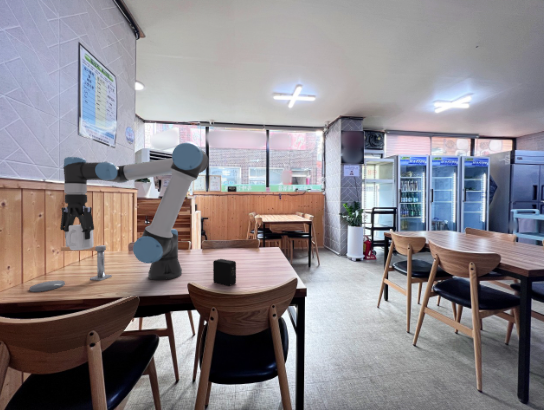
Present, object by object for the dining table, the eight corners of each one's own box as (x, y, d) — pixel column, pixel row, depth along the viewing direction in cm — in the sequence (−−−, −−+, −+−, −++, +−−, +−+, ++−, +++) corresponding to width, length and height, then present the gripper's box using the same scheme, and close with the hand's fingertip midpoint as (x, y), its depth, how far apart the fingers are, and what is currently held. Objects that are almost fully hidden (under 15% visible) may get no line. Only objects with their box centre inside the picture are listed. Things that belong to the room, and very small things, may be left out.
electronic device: (229, 286, 104) (229, 263, 104) (213, 282, 109) (213, 260, 109) (236, 283, 108) (236, 261, 107) (219, 279, 113) (219, 258, 113)
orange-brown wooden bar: (102, 251, 113) (102, 246, 113) (59, 251, 112) (59, 247, 112) (107, 249, 117) (107, 245, 117) (66, 249, 116) (66, 245, 116)
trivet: (71, 283, 107) (71, 281, 107) (42, 293, 96) (42, 290, 96) (52, 281, 110) (52, 279, 110) (22, 290, 99) (22, 288, 99)
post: (111, 276, 117) (111, 250, 117) (100, 280, 111) (99, 252, 111) (101, 275, 119) (101, 249, 118) (89, 279, 113) (89, 251, 113)
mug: (77, 252, 98) (76, 226, 98) (56, 252, 98) (55, 227, 98) (98, 246, 110) (97, 223, 110) (79, 246, 110) (78, 224, 110)
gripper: (103, 193, 105) (105, 245, 105) (66, 194, 110) (68, 244, 110) (86, 193, 97) (88, 249, 98) (47, 194, 102) (49, 247, 103)
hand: (77, 246), depth 104 cm, fingers closed on mug, 8 cm apart
